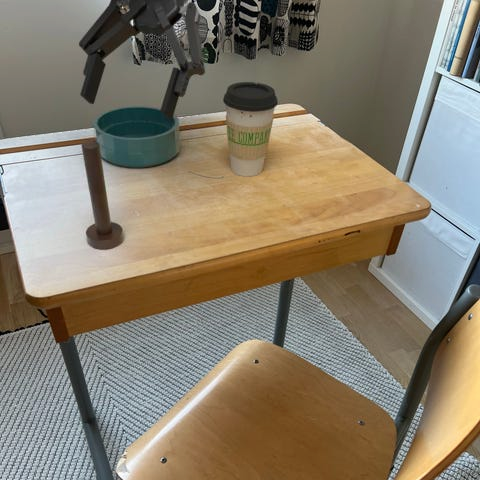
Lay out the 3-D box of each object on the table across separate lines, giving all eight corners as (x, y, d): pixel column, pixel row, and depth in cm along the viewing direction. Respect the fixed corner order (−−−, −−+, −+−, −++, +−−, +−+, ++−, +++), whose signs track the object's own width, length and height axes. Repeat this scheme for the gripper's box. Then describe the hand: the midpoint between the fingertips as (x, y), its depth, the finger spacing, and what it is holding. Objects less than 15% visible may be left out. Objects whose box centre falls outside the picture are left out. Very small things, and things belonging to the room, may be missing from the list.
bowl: (80, 154, 102) (74, 125, 98) (133, 127, 113) (131, 100, 109) (145, 177, 97) (143, 147, 92) (195, 147, 107) (195, 118, 103)
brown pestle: (79, 242, 80) (60, 146, 70) (104, 226, 84) (89, 132, 73) (107, 253, 78) (91, 157, 68) (130, 236, 82) (119, 142, 71)
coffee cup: (214, 175, 98) (215, 94, 88) (231, 154, 105) (233, 77, 95) (263, 184, 96) (270, 103, 86) (277, 163, 103) (284, 85, 93)
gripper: (250, -2, 77) (209, 133, 77) (107, -20, 83) (69, 105, 83) (237, -39, 70) (192, 109, 70) (82, -56, 76) (41, 80, 76)
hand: (125, 107), depth 76 cm, fingers open, 13 cm apart
